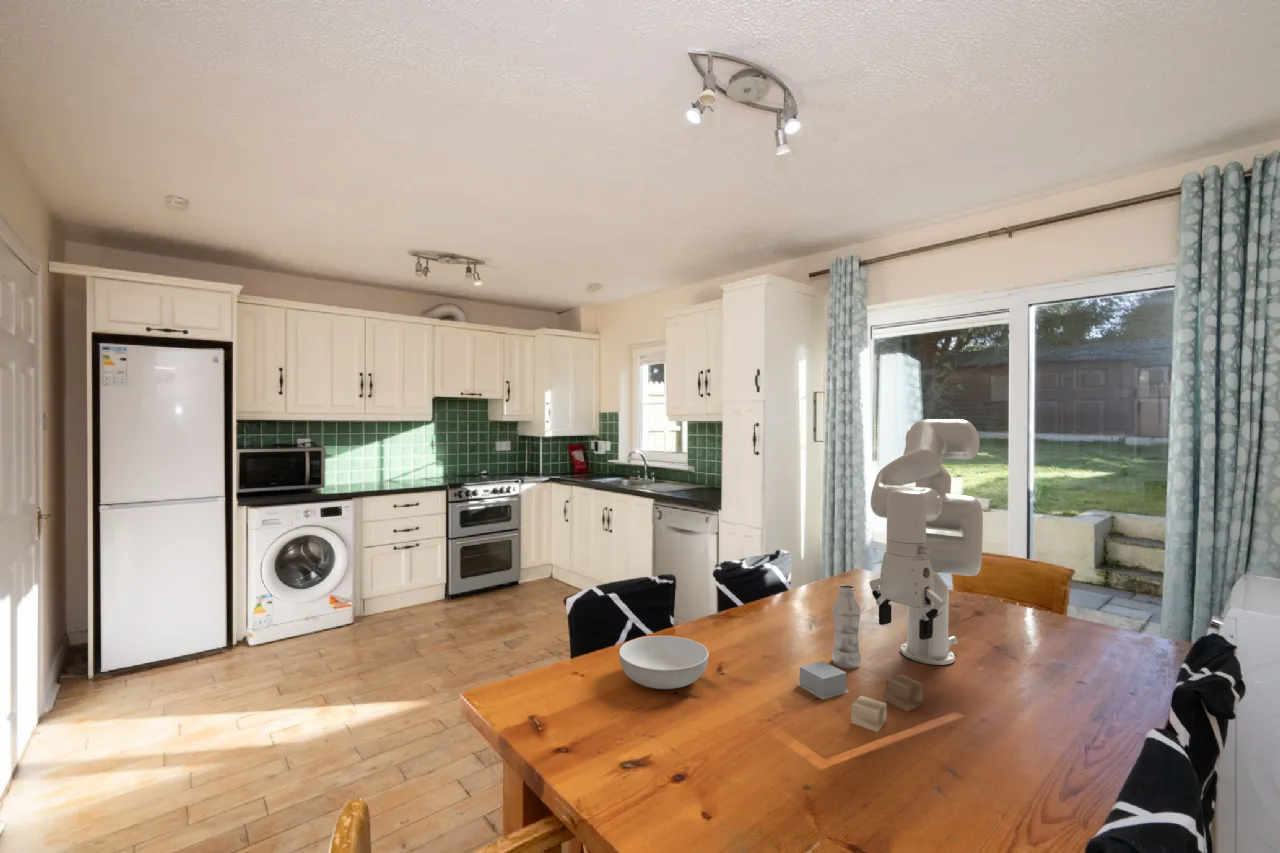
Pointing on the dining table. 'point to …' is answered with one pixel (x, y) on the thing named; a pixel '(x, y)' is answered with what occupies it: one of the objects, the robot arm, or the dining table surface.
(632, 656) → the serving bowl
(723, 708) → the dining table surface
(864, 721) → the birch block
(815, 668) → the base block
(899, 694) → the walnut block
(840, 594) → the plastic bottle
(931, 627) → the robot arm
